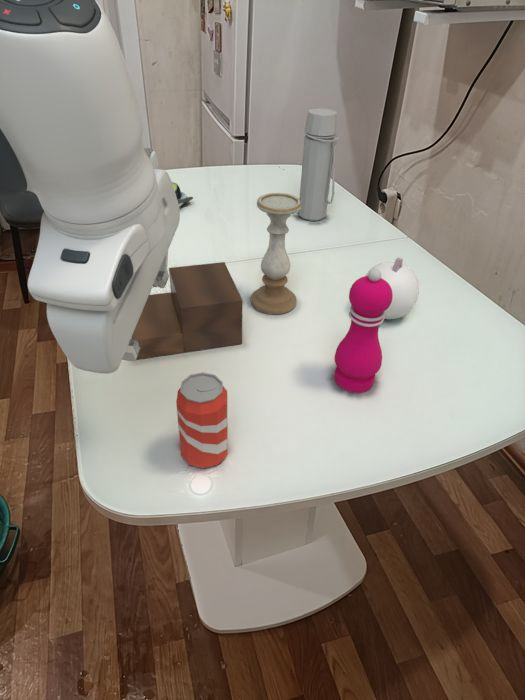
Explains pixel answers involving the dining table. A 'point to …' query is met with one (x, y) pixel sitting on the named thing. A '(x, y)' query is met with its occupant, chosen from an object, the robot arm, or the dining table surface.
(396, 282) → the ornament
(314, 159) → the water bottle
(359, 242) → the dining table surface
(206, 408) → the beverage can
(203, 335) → the step shelf
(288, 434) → the dining table surface
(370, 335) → the pepper mill
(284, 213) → the candle holder
